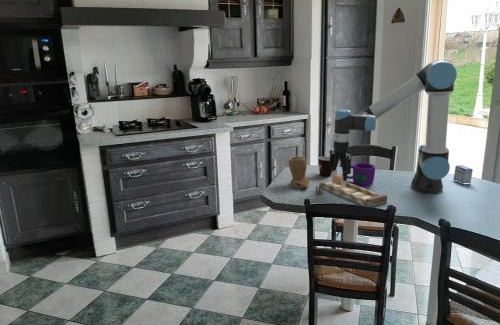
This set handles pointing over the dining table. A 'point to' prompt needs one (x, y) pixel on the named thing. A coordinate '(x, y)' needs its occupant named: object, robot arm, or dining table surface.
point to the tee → (319, 191)
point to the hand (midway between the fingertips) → (338, 184)
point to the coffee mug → (324, 166)
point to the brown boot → (298, 172)
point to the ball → (337, 180)
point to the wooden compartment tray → (355, 193)
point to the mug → (363, 174)
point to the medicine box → (463, 174)
